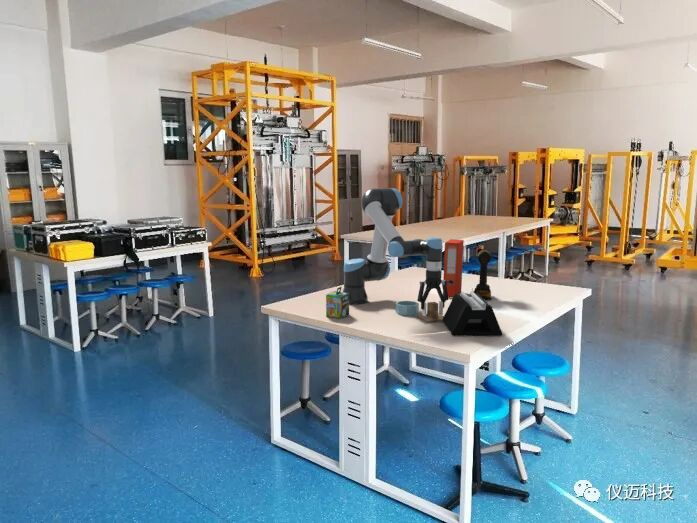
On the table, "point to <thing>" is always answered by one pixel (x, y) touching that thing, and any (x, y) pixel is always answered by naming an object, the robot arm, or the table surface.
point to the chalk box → (337, 304)
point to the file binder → (453, 266)
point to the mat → (425, 322)
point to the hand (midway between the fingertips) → (432, 315)
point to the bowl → (407, 308)
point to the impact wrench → (483, 275)
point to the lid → (431, 313)
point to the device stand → (471, 317)
